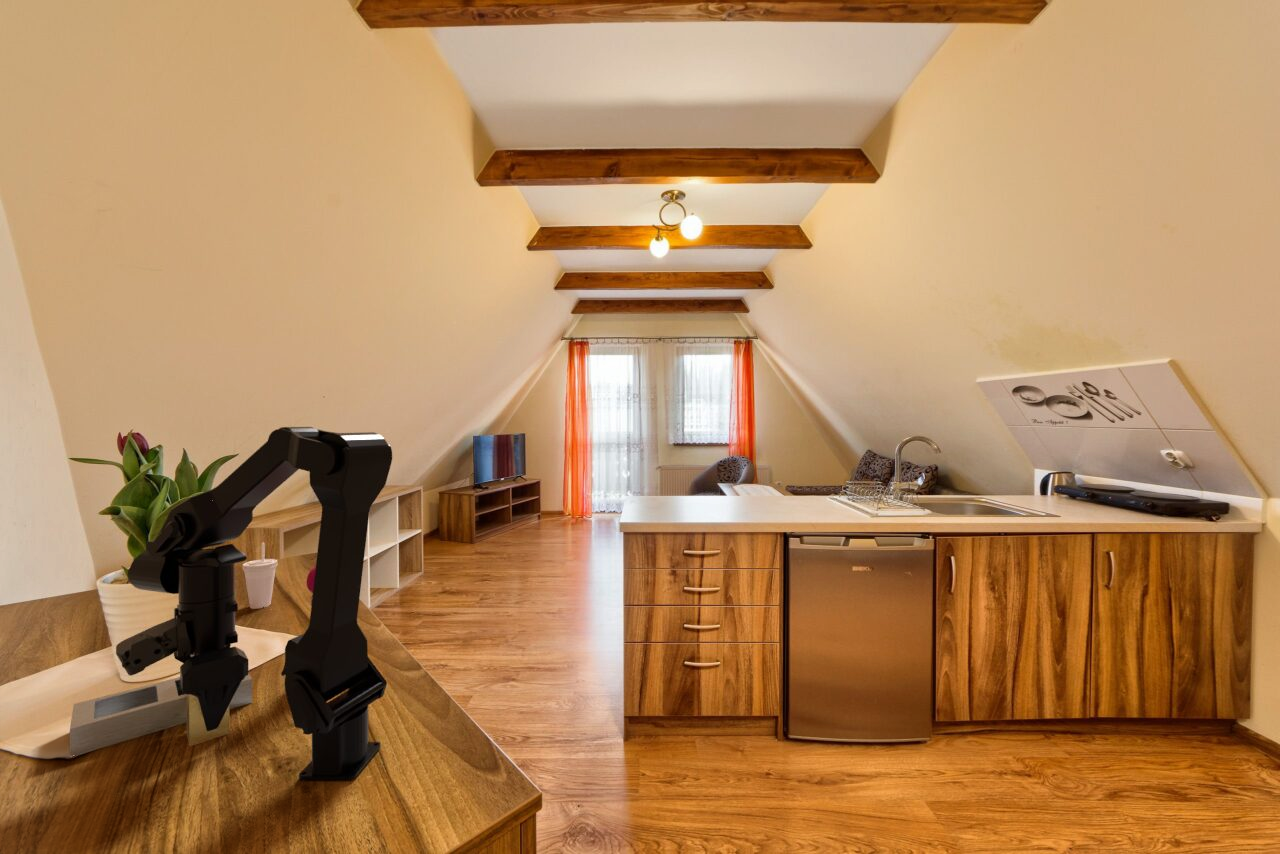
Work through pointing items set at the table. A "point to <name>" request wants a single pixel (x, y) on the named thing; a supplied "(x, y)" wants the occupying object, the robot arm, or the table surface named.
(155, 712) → the grey slotted block holder
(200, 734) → the wooden toy block
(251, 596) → the smoothie
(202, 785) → the table surface
